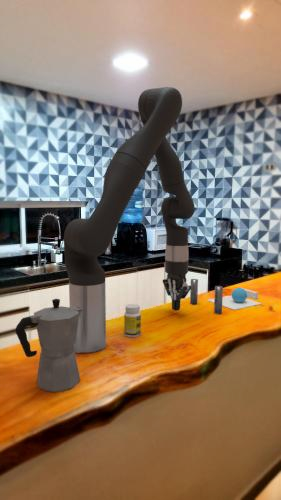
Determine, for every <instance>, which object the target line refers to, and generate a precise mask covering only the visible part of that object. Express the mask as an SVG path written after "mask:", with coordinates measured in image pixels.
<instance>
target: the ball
mask: <svg viewBox="0 0 281 500" xmlns="http://www.w3.org/2000/svg"><path fill="white" fill-rule="evenodd" d="M242 288H243V287H237V288H234V289H233V291H232V292H231V295H232V298H233V300H234V301H235V302H238V303H241V302H244V301H245V300H246V299H248V297H247V293H246V291H245V290H244V289H245V288H244V289H242Z"/></svg>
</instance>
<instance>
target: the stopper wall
mask: <svg viewBox="0 0 281 500" xmlns="http://www.w3.org/2000/svg"><path fill="white" fill-rule="evenodd" d="M241 288H242V289H244V290H245V291H246V293H247V298H248V299H251V300H258V299H259V292H257V291H254V290H250V289H248V288H244V287H241Z"/></svg>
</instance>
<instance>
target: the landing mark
mask: <svg viewBox="0 0 281 500" xmlns="http://www.w3.org/2000/svg"><path fill="white" fill-rule="evenodd" d="M214 300H215V298H210V299H206V301H208V302H210V303H213V304H214ZM258 305H259V306H261V305H263V303H261V302H257V301H255V300H253V299H250V298H246V300H245V301H244V302H241V303H238V302H235V301H234V300H233V298H232V294H231V295H226V296H223V298H222V307H224V308H228V309H230V310H232V311H233V310H234V311H236V310H241V309H246V308H251V307H255V306H258Z"/></svg>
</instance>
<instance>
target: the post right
mask: <svg viewBox="0 0 281 500" xmlns="http://www.w3.org/2000/svg"><path fill="white" fill-rule="evenodd" d="M223 289H224V287H223V286H221V285H215V286H214V299H215V300H214V303H213V305H214V307H213V310H214V311H213V313H214V314H215V315H222V314H223V306H222V298H223V297H224V294H223V293H224V292H223V291H224V290H223Z"/></svg>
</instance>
